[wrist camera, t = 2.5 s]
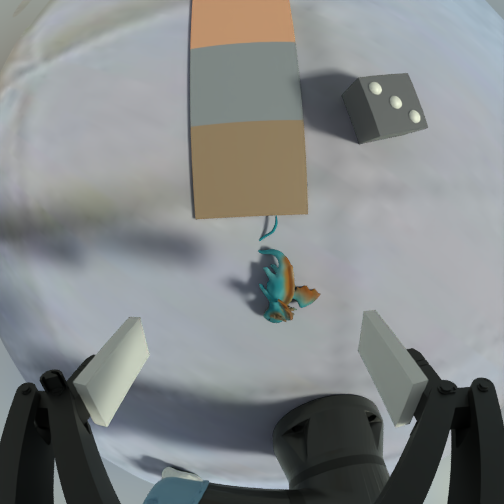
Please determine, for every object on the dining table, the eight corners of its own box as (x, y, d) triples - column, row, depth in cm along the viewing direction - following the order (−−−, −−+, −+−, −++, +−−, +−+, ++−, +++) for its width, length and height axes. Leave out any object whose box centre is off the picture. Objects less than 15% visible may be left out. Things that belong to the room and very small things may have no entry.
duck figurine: (208, 481, 39) (238, 515, 29) (179, 499, 35) (204, 535, 25) (175, 451, 36) (202, 491, 27) (142, 470, 32) (162, 513, 23)
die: (401, 135, 22) (428, 127, 17) (358, 144, 23) (380, 136, 18) (385, 89, 21) (408, 72, 16) (341, 95, 22) (358, 77, 17)
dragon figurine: (205, 269, 25) (255, 343, 23) (254, 217, 21) (317, 303, 19) (247, 256, 30) (289, 317, 29) (292, 212, 26) (343, 280, 25)
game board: (307, 213, 24) (307, 214, 24) (196, 218, 25) (195, 219, 24) (286, -12, 18) (286, -14, 18) (193, -6, 19) (193, -7, 18)
